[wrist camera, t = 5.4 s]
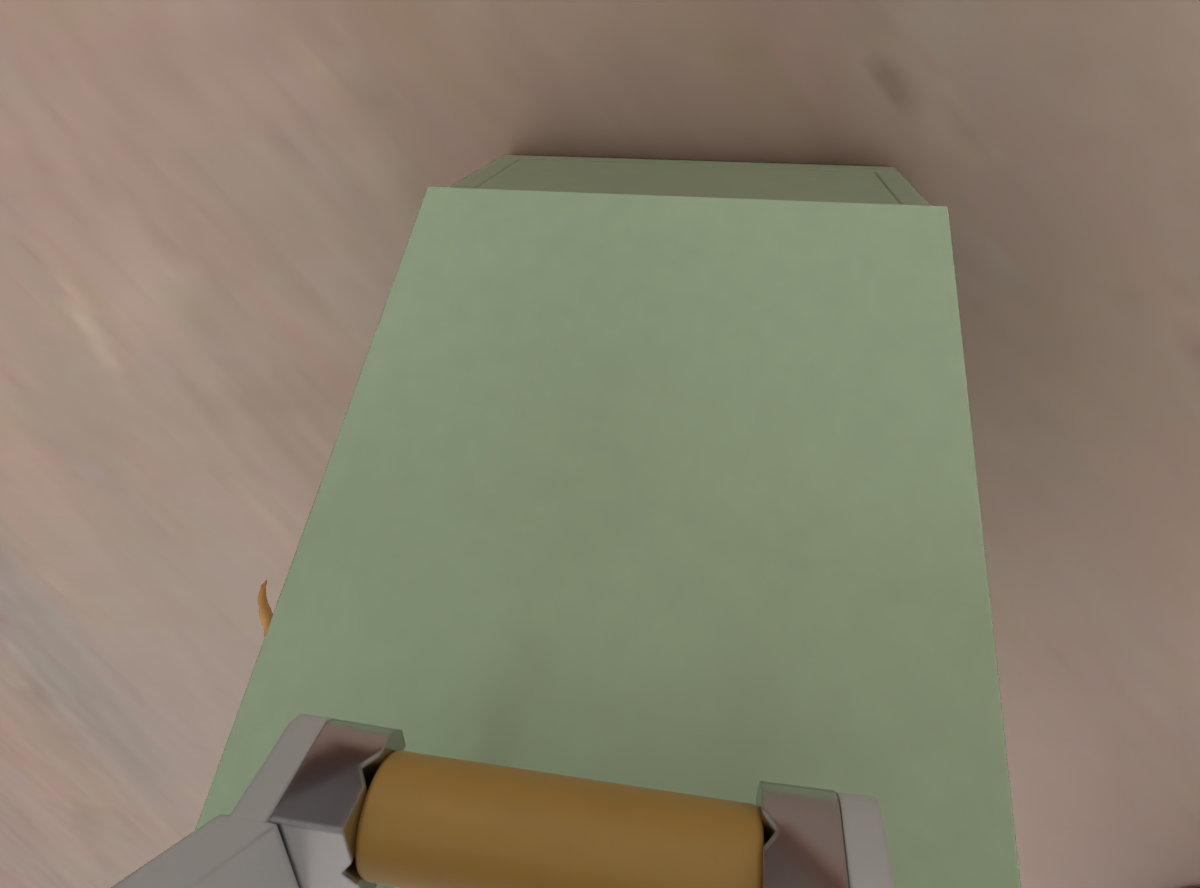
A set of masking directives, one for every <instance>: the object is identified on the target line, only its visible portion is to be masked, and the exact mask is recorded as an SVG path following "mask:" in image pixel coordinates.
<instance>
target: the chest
mask: <svg viewBox="0 0 1200 888" xmlns="http://www.w3.org/2000/svg"><path fill="white" fill-rule="evenodd" d="M450 187H457V188H483V189H510V190H536V191H562V192H588V193H615V194H641V195H667V196H694V197H720V198H746V199H773V200H799V201H825V202H852V203H878V204H904V205H930V204H929V203H928V202H927V201H926V200H925V199H924V198H923V197H922V196H921V195H920V194H919V193H918V192H917V191H916V190H915V189H914V188H913V186H912V185H911V184H910V183H909V182H908V181H907V180H906V179H905V178H904V177H903V176H902V175H901V174H900V173H899V172H898V170H897V169H896V168H895V167H880V166H848V165H815V164H783V163H751V162H719V161H687V160H655V159H623V158H591V157H559V156H527V155H503V156H501V157H500V158H498V159H496V160H495V161H493V162H491V163H489V164H488V165H486V166H484V167H483V168H481V169H479V170H477V171H476V172H474V173H472V174H471V175H469V176H467V177H465V178H464V179H462V180H460V181H459V182H457V183H455V184H454V185H452V186H450ZM930 206H931V205H930Z"/></svg>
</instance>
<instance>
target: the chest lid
mask: <svg viewBox="0 0 1200 888" xmlns="http://www.w3.org/2000/svg"><path fill="white" fill-rule="evenodd" d="M300 713H301V714H308V715H315V716H322V717H329V718H335V719H339V720H345V721H351V722H358V723H364V724H370V725H376V726H382V727H388V728H394V729H400V730H402V732H403V736H404V739H405V743H406V746H405V748H404V750H403V751H402V750H401V751H396V752H393V753H391V754H390V755H388V756H387V757H386V758H385V760H384V761H383V762H382V763H381V765H380V766H379V768H378V770H377V772H376V774H375V776H374V777H373V780H372V782H371V784H370V787H369V789H368V792H367V795H366V798H365V801H364V804H363V807H362V811H361V815H360V819H359V824H358V830H357V837H356V849H355V859H356V867H357V871H358V873H359V875H360V876H361V877H362V878H363V879H364V880H365V881H367V882H371V883H376V884H377V886H376V888H761V870H762V850H763V847H764V827H763V824H762V821H761V816H760V810H759V807H758V806H756V795H757V790H758V785H759V783H760V781H765V782H773V783H780V784H788V785H796V786H803V787H811V788H819V789H827V790H834V791H835V792H838V793H846V794H854V795H862V796H870V797H875V798H876V799H877V801H878V802H879V804H880V806H881V810H882V816H883V822H884V828H885V833H886V839H887V845H888V851H889V856H890V862H891V868H892V874H893V879H894V885H895V888H1021V883H1020V874H1019V864H1018V855H1017V846H1016V836H1015V827H1014V818H1013V808H1012V799H1011V790H1010V781H1009V771H1008V762H1007V753H1006V743H1005V734H1004V725H1003V715H1002V706H1001V697H1000V687H999V678H998V669H997V659H996V650H995V641H994V631H993V622H992V613H991V604H990V594H989V585H988V576H987V566H986V557H985V548H984V538H983V529H982V520H981V510H980V501H979V492H978V482H977V473H976V464H975V454H974V445H973V436H972V427H971V417H970V408H969V399H968V389H967V380H966V371H965V361H964V352H963V343H962V333H961V324H960V315H959V305H958V296H957V287H956V277H955V268H954V259H953V250H952V240H951V231H950V222H949V212H948V207H946V206H930V205H904V204H878V203H852V202H825V201H799V200H773V199H746V198H720V197H694V196H667V195H641V194H615V193H588V192H562V191H536V190H510V189H483V188H457V187H431V186H430V187H428V188H427V191H426V193H425V196H424V199H423V202H422V204H421V207H420V210H419V213H418V216H417V218H416V221H415V224H414V227H413V229H412V232H411V235H410V238H409V240H408V243H407V246H406V249H405V251H404V254H403V257H402V260H401V263H400V265H399V268H398V271H397V274H396V276H395V279H394V282H393V285H392V287H391V290H390V293H389V296H388V298H387V301H386V304H385V307H384V309H383V312H382V315H381V318H380V321H379V323H378V326H377V329H376V332H375V334H374V337H373V340H372V343H371V345H370V348H369V351H368V354H367V356H366V359H365V362H364V365H363V368H362V370H361V373H360V376H359V379H358V381H357V384H356V387H355V390H354V392H353V395H352V398H351V401H350V403H349V406H348V409H347V412H346V414H345V417H344V420H343V423H342V426H341V428H340V431H339V434H338V437H337V439H336V442H335V445H334V448H333V450H332V453H331V456H330V459H329V461H328V464H327V467H326V470H325V473H324V475H323V478H322V481H321V484H320V486H319V489H318V492H317V495H316V497H315V500H314V503H313V506H312V508H311V511H310V514H309V517H308V519H307V522H306V525H305V528H304V531H303V533H302V536H301V539H300V542H299V544H298V547H297V550H296V553H295V555H294V558H293V561H292V564H291V566H290V569H289V572H288V575H287V578H286V580H285V583H284V586H283V589H282V591H281V594H280V597H279V600H278V602H277V605H276V608H275V611H274V613H273V616H272V619H271V622H270V625H269V627H268V630H267V633H266V636H265V638H264V641H263V644H262V647H261V649H260V652H259V655H258V658H257V660H256V663H255V666H254V669H253V671H252V674H251V677H250V680H249V683H248V685H247V688H246V691H245V694H244V696H243V699H242V702H241V705H240V707H239V710H238V713H237V716H236V718H235V721H234V724H233V727H232V730H231V732H230V735H229V738H228V741H227V743H226V746H225V749H224V752H223V754H222V757H221V760H220V763H219V765H218V768H217V771H216V774H215V776H214V779H213V782H212V785H211V788H210V790H209V793H208V796H207V799H206V801H205V804H204V807H203V810H202V812H201V815H200V818H199V821H198V823H197V826H196V829H195V831H196V830H197V829H199V828H200V827H202V826H203V825H205V824H206V823H208V822H209V821H210V820H212V819H213V818H215V817H216V816H218V815H219V814H222V815H230V814H231V813H232V811H233V810H234V808H235V806H236V805H237V803H238V802H239V800H240V799H241V797H242V796H243V794H244V792H245V791H246V789H247V788H248V786H249V785H250V783H251V782H252V780H253V778H254V777H255V775H256V774H257V772H258V771H259V769H260V768H261V766H262V765H263V763H264V761H265V760H266V758H267V757H268V755H269V754H270V752H271V751H272V749H273V747H274V746H275V744H276V743H277V741H278V740H279V738H280V737H281V735H282V733H283V732H284V730H285V729H286V727H287V726H288V724H289V723H290V722H291V721H292V720H293V719H295V718H296V717H297V716H298V715H299V714H300Z"/></svg>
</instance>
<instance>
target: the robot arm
mask: <svg viewBox="0 0 1200 888" xmlns="http://www.w3.org/2000/svg"><path fill="white" fill-rule="evenodd" d="M405 746H406V743H405V739H404V736H403V732H402V730H400V729H394V728H388V727H382V726H376V725H370V724H364V723H358V722H351V721H345V720H339V719H335V718H329V717H322V716H315V715H308V714H301V713H300V714H299V715H298V716H297V717H296V718H295V719H293V720H292V721H291V722H290V723H289V724H288V726H287V727H286V729H285V730H284V732H283V733H282V735H281V737H280V738H279V740H278V741H277V743H276V744H275V746H274V747H273V749H272V751H271V752H270V754H269V755H268V757H267V758H266V760H265V761H264V763H263V765H262V766H261V768H260V769H259V771H258V772H257V774H256V775H255V777H254V778H253V780H252V782H251V783H250V785H249V786H248V788H247V789H246V791H245V792H244V794H243V796H242V797H241V799H240V800H239V802H238V803H237V805H236V806H235V808H234V810H233V811H232V813H231V814H230V815H222V814H219V815H218V816H216V817H215V818H213V819H212V820H210V821H209V822H208V823H206V824H205V825H203V826H202V827H200V828H199V829H197V830H196V831H194V832H193V833H191V834H190V835H188V836H187V837H185V838H184V839H182V840H181V841H179V842H178V843H176V844H175V845H173V846H172V847H170V848H169V849H167V850H166V851H164V852H163V853H161V854H160V855H158V856H157V857H156V858H154V859H153V860H151V861H150V862H148V863H147V864H145V865H144V866H142V867H141V868H139V869H138V870H136V871H135V872H133V873H132V874H130V875H129V876H127V877H126V878H124V879H123V880H121V881H120V882H118V883H117V884H115V885H114V886H112V887H111V888H376V886H377V884H376V883H371V882H367V881H365V880H364V879H363V878H362V877H361V876H360V875H359V873H358V871H357V867H356V859H355V849H356V837H357V830H358V824H359V819H360V815H361V811H362V807H363V804H364V801H365V798H366V795H367V792H368V789H369V787H370V784H371V782H372V780H373V777H374V776H375V774H376V772H377V770H378V768H379V766H380V765H381V763H382V762H383V761H384V760H385V758H386V757H387V756H388V755H390V754H391V753H393V752H396V751H401V750H402V751H403V750H404V748H405ZM756 806H758V807H759V810H760V816H761V821H762V824H763V827H764V847H763V850H762V870H761V888H895V885H894V879H893V874H892V868H891V862H890V856H889V851H888V845H887V839H886V833H885V828H884V822H883V816H882V810H881V806H880V804H879V802H878V801H877V799H876V798H875V797H870V796H862V795H854V794H846V793H838V792H835V791H834V790H827V789H819V788H811V787H803V786H796V785H788V784H780V783H773V782H765V781H760V783H759V785H758V790H757V795H756Z"/></svg>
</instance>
